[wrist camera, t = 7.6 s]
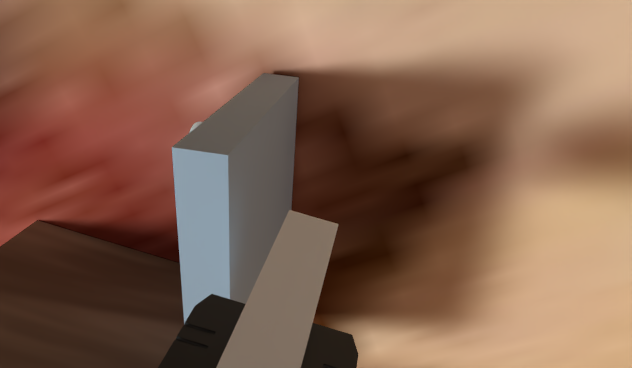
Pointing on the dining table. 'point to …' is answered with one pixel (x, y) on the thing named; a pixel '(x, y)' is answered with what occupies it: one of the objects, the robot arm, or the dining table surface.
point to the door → (234, 189)
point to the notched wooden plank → (85, 302)
